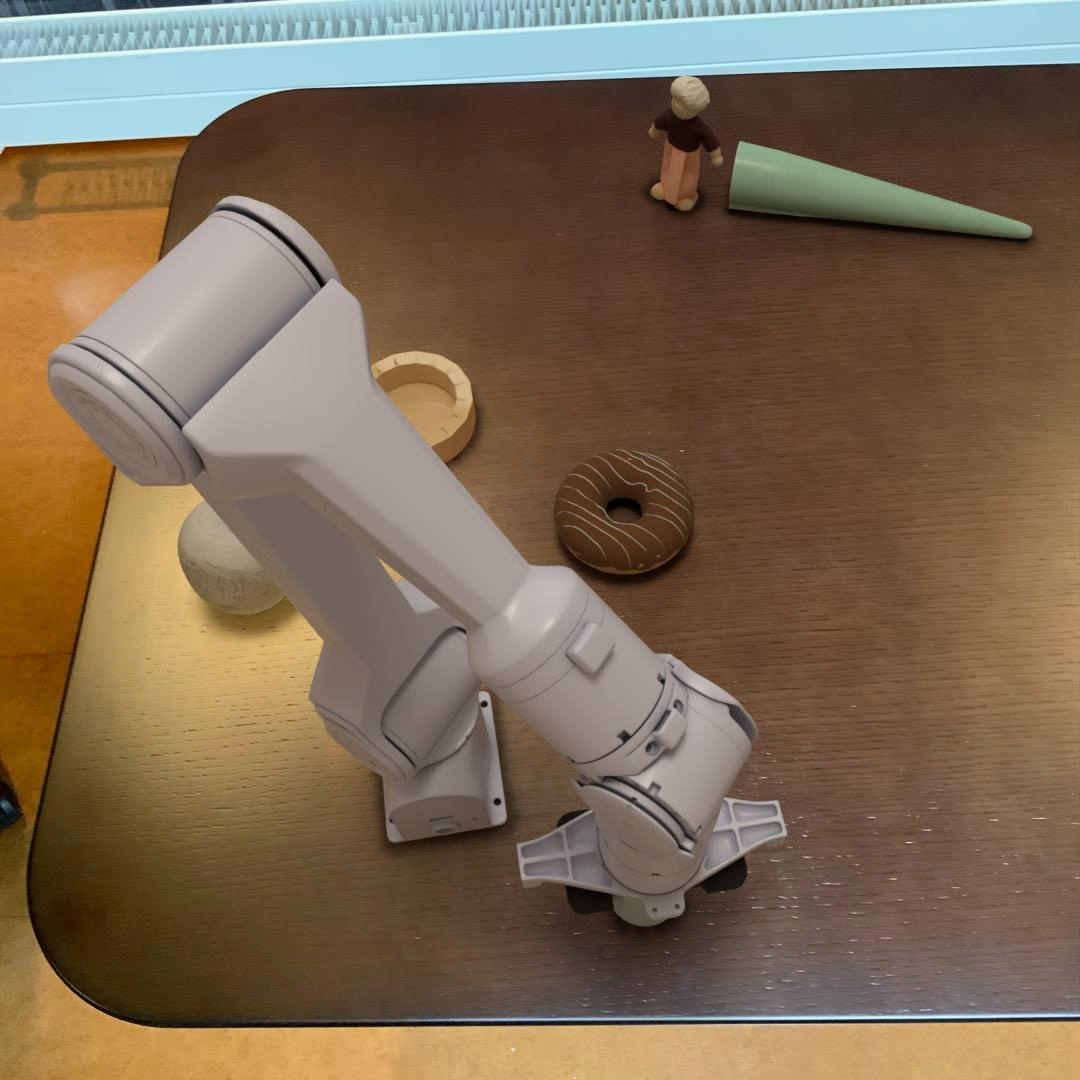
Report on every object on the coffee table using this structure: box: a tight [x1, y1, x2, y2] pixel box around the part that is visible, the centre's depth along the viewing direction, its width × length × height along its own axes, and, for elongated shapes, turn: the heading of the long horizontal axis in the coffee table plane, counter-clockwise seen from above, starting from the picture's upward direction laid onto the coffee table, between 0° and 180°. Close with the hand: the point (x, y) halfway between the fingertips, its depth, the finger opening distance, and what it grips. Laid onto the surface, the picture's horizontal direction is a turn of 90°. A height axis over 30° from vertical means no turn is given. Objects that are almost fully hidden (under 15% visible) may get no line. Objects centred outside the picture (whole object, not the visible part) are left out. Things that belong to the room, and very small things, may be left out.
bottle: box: [612, 894, 679, 927], centre depth 63 cm, size 5×5×10 cm
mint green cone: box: [728, 140, 1033, 240], centre depth 94 cm, size 5×6×27 cm
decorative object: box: [176, 499, 287, 616], centre depth 76 cm, size 9×9×10 cm
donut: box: [553, 448, 695, 575], centre depth 79 cm, size 11×11×4 cm
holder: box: [370, 350, 477, 465], centre depth 86 cm, size 10×10×3 cm
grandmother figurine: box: [648, 75, 724, 212], centre depth 93 cm, size 8×4×13 cm, turn 62°
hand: (644, 877), depth 64 cm, fingers closed on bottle, 5 cm apart
